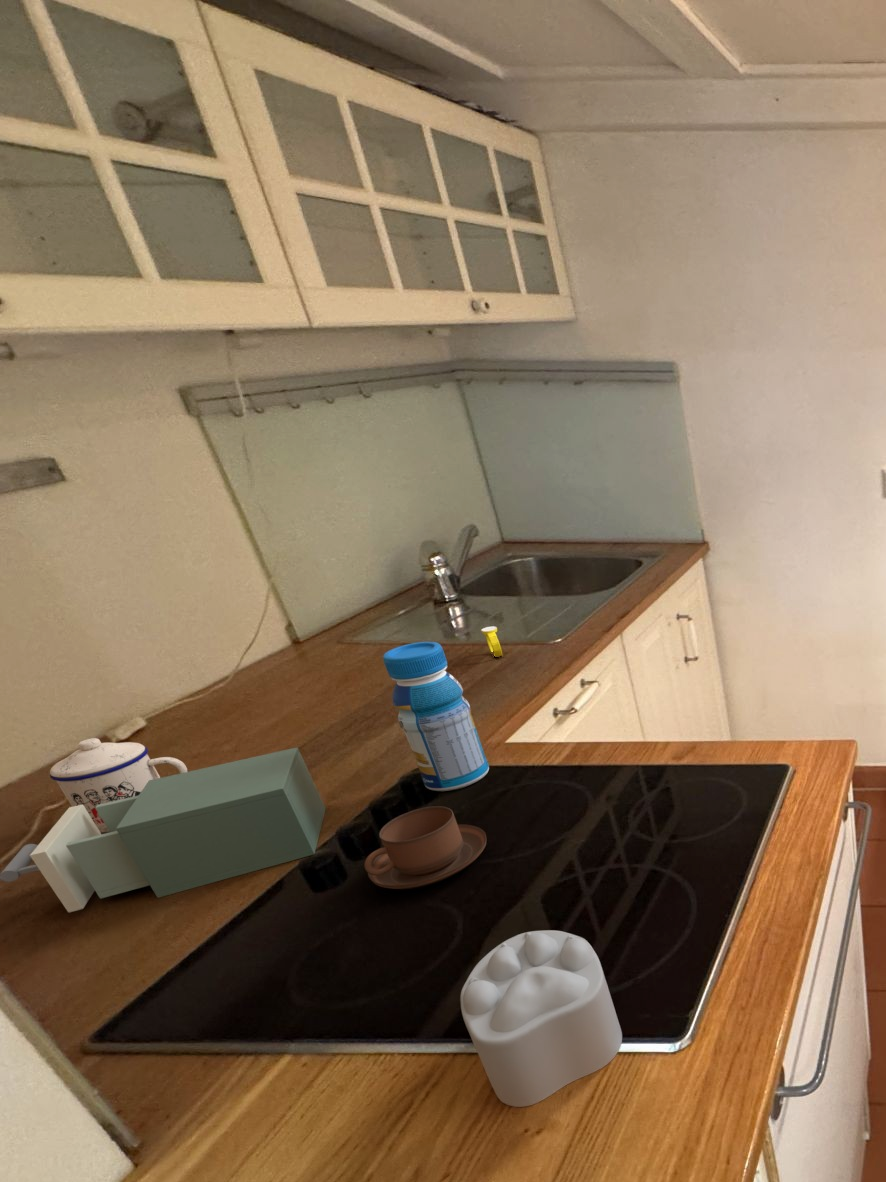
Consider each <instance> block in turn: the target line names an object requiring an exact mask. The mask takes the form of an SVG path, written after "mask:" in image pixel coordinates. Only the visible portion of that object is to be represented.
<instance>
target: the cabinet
mask: <svg viewBox="0 0 886 1182" xmlns="http://www.w3.org/2000/svg"><path fill="white" fill-rule="evenodd" d="M326 809H327V808H326V806H325V804H324V802H323V799H322V796H321V795H320V793H319V791H318V788H317V787H316V784H315V781H314V780H313V778H312V775H311V773H310V771H309V769H308V766H307V764H306V762H305V759H304V758H303V756H302V754H301V751H300V750H299V748H298V747H293V748H289V749H283V750H279V751H274V752H270V753H266V754H261V755H257V756H252V757H249V758H248V757H247V758H244V759H239V760H234V761H230V762H226V763H221V764H216V765H213V766H208V767H203V768H199V769H193V770H190V771H188V772H185V773H175V774H173V775H167V776H163V777H160V778H158V779H153V780H149V781H148V783H147V784H146V785H145V787H144V788H143V790H142V791H141V793H140V794H139V796H138V797H137V799H136V800H135V802H134V803H133V804H132V806H131V807H130V809H129V810H128V812H127V813H126V815H125V816H124V818H123V819H122V820H121V822H120V823H119V825H118V826H117V828H116V830H117V832H118V833H119V835H120V837H121V838H122V840H123V842H124V843H125V845H126V847H127V848H128V850H129V852H130V853H131V855H132V857H133V858H134V860H135V862H136V863H137V865H138V866H139V868H140V870H141V871H142V873H143V875H144V876H145V878H146V880H147V881H148V883H149V886H150V888H151V889H152V891H153V893H154V895H155V896H156V898H157V899H159V898H163V897H166V896H170V895H173V894H177V893H180V892H184V891H187V890H193V889H195V888H197V887H202V886H207V885H209V884H213V883H216V882H220V881H224V880H227V879H228V880H229V879H231V878H235V877H239V876H241V875H245V874H249V873H252V872H256V871H259V870H263V869H267V868H271V867H274V866H277V865H282V864H285V863H288V862H292V861H295V860H299V859H303V858H307V857H310V856H313V855H315V854H316V850H317V846H318V843H319V842H318V841H319V837H320V834H321V829H322V825H323V821H324V817H325V813H326Z"/></svg>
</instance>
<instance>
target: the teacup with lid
mask: <svg viewBox="0 0 886 1182" xmlns="http://www.w3.org/2000/svg"><path fill="white" fill-rule="evenodd" d="M77 748H78V749H76V750H75V751H73V752H72V753H71V754H69V756H67V757H65V758H63V759H61V760H60V761H58V762H56V763H55V764H53V766H52V767H51V768H50V770H49V778H50V779H51V780H53V781H55V782H56V783H57V786H59V788H60V790H61V792H62V793H63V794H64V796H65V798H66V799H67V801H68V803H69V805H70V807H73V806H78V805H82V804H83V805H84V807H85V809H86V810H87V812H88V813H89V815H90V817H91V818H92V820H93V822H94V823H95V825H96V826H97V828H98V830H99V831H100V833H101V834H106V833H110V831H109V830H108V828H107V826H106V825H105V823H104V822H103V820H102V818H101V817H100V815H99V813H98V812H97V810H96V809H95V807H96V806H97V805H99V804H103V803H108V802H112V801H117V800H121V799H125V798H130V797H134V796H138V795H139V794H140V793H141V791H142V790H143V788H144V787H145V785H146V784H147V783H148V781H149V780H153V779H158V778H161V776H160V773H158V771H157V769H156V767H155V766H157V765H170V766H174V767H175V769H177V770H178V774H180V773H185V772H189V771H188V767H187V766H186V764H185V763H184V762H183V761H182V760H180V759H178V758H175V757H171V756H162V757H161V756H160V757H157V758H152V759H151V758H150V756H149V754H148V752H149V750H148V748H147V747H146V746H145V745H144V744H141V743H139V742H133V741H128V742H127V741H125V742H124V741H123V742H102V741H101V740H100V739H99V738H96V737H91V738H87V739H83V740H81V741H79V742H78V744H77Z"/></svg>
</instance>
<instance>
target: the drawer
mask: <svg viewBox="0 0 886 1182" xmlns="http://www.w3.org/2000/svg"><path fill="white" fill-rule="evenodd" d="M138 796H139V795H138ZM138 796H134V797H130V798H125V799H121V800H117V801H112V802H108V803H103V804H99V805H97V806H96V807H95V809H96V810H97V812H98V813H99V815H100V817H101V818H102V820H103V822H104V823H105V825H106V826H107V828H108V830H109V831H110V832H107V833H100V831H99V830H98V828H97V826H96V825H95V823H94V822H93V820H92V818H91V817H90V815H89V813H88V812H87V810H86V809H85V807H84V805H83V804H82V805H78V806H73V807H72V806H69V807H68V808H67V809H66V810H65V812H63V814H62V815H61V817H60V818H59V819H57V821H56V823H55V824H54V825H53V826H52V827H51V829H49V831H48V832H47V833H46V835H45V836H44V837H43V838H42V839H41V841H40V842H39V843H38V844H35V843H28V844H25V845H23V846H22V847H21V849H20V850H19V851H18V852H17V853H16V855H14V857H13V858H12V859H11V860H10V861H9V862H8V864H7V865H6V866H5V867H4V868H3V870H2V871H1V872H0V880H1V881H2V882H8V883H9V882H11V883H12V882H15V881H17V880H18V879H19V878H20V877H21V876H23V875H26V874H30V873H34V872H38V871H39V872H40V873H41V874H42V875H43V877H44V879H45V880H46V882H47V883H48V885H49V886H50V888H51V889H52V891H53V892H54V893H55V895H56V897H57V898H58V900H59V901H60V902H61V904H62V905H63V907H64V908H65V910H66V911H67V913H68V914H69V913H72V912H76V911H80V910H83V909H85V907H86V905H87V904H88V902H89V900H90V899H91V897H92V896H93V894H94V893H96V895H97V897H98V898H99V899H104V898H108V897H112V896H115V895H116V896H117V895H120V894H123V893H127V892H130V891H134V890H137V889H141V888H145V887H149V886H150V885H149V883H148V881H147V880H146V878H145V876H144V875H143V873H142V871H141V870H140V868H139V866H138V865H137V863H136V862H135V860H134V858H133V857H132V855H131V853H130V852H129V850H128V848H127V847H126V845H125V843H124V842H123V840H122V838H121V837H120V835H119V833H118V832H117V830H116V828H117V826H118V825H119V823H120V822H121V820H122V819H123V818H124V816H125V815H126V813H127V812H128V810H129V809H130V807H131V806H132V804H133V803H134V802H135V800H136V799H137V797H138ZM32 862H34V864H31V863H32ZM30 864H31V865H30Z"/></svg>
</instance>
